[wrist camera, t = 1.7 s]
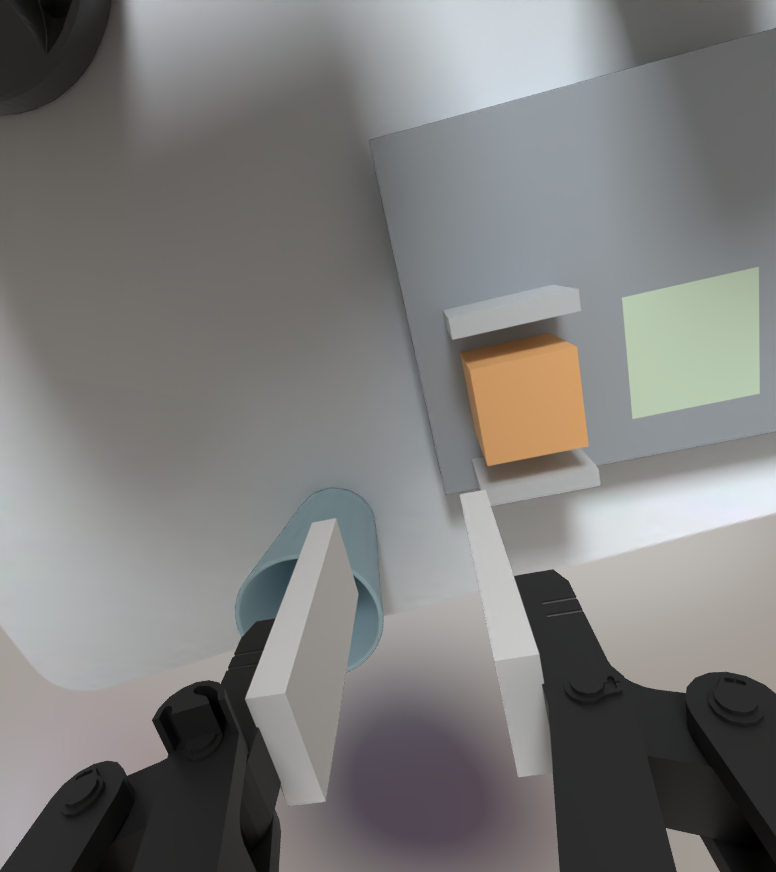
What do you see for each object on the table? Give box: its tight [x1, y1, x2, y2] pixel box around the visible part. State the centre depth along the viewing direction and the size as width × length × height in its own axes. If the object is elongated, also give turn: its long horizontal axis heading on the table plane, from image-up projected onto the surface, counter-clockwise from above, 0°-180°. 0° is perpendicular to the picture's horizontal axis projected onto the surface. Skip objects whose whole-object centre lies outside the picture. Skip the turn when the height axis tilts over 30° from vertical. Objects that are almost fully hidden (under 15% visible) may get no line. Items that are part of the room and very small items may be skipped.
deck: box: [369, 28, 776, 506], centre depth 26 cm, size 20×28×8 cm
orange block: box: [460, 333, 589, 466], centre depth 27 cm, size 5×5×5 cm
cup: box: [235, 488, 383, 673], centre depth 31 cm, size 8×8×10 cm
